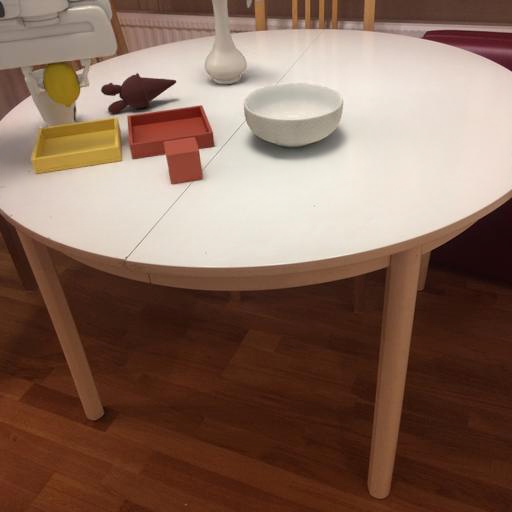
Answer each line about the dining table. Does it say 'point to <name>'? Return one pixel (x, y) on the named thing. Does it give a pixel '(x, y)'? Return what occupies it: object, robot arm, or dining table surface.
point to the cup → (51, 105)
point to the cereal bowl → (293, 113)
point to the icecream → (136, 92)
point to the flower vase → (224, 49)
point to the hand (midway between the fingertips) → (63, 89)
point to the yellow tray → (77, 145)
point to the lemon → (61, 83)
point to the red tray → (167, 130)
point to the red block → (183, 160)
